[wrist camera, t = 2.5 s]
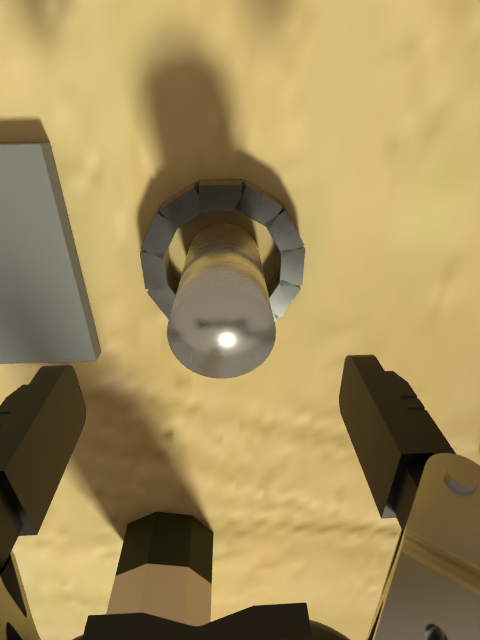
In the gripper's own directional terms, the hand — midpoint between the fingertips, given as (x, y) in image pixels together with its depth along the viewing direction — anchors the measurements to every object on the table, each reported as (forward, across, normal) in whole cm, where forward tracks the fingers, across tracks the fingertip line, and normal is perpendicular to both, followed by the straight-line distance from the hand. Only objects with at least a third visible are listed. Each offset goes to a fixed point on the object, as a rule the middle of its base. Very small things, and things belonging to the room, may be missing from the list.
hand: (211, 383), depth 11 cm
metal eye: (+11, 0, 0) cm, 11 cm away
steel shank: (+11, 0, 0) cm, 11 cm away
